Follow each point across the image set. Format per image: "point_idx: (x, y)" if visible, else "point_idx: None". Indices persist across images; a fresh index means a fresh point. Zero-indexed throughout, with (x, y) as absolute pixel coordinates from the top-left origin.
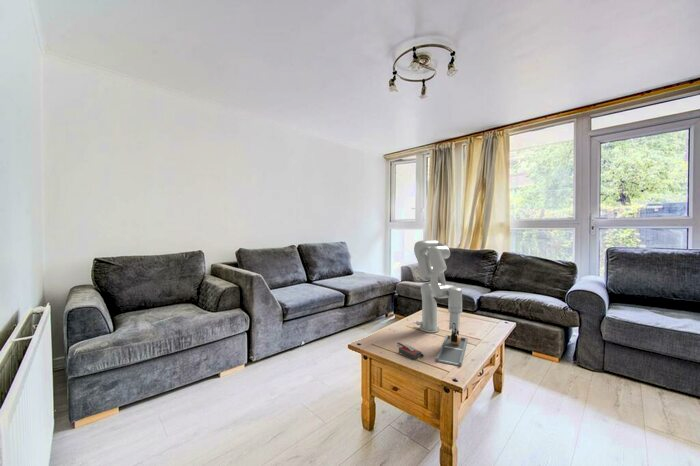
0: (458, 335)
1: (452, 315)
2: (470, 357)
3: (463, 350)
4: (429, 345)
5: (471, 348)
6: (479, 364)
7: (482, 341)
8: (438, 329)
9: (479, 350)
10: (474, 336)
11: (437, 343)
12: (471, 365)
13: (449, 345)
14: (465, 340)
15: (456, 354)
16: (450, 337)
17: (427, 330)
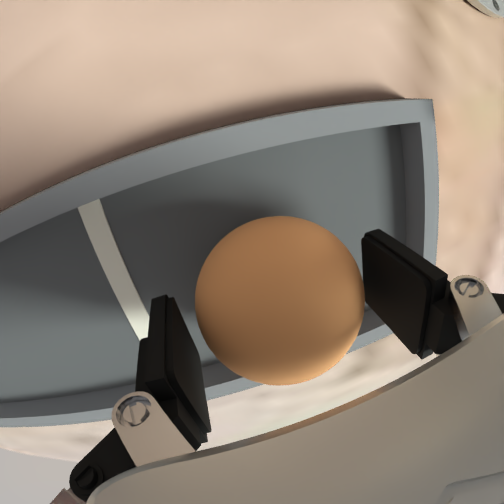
0: (319, 374)
1: None
2: (103, 428)
3: (105, 415)
4: (25, 34)
5: (274, 386)
6: (75, 461)
7: (434, 357)
8: (492, 8)
9: (272, 422)
10: (491, 285)
11: (148, 58)
12: (27, 441)
13: (171, 229)
14: (371, 333)
15: (36, 367)
16: (229, 269)
17: None
